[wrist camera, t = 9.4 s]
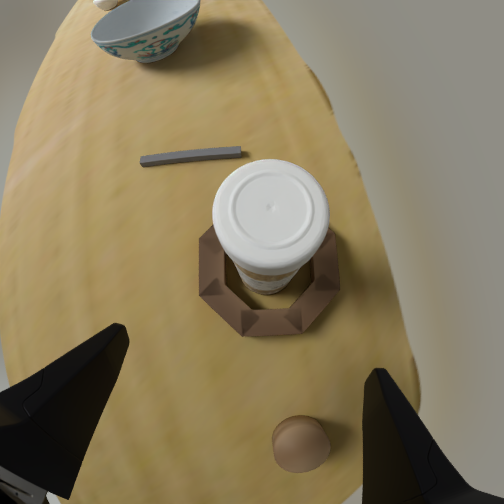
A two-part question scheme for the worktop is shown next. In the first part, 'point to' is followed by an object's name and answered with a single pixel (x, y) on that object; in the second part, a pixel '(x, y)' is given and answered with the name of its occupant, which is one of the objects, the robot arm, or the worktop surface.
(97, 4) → the white owl figurine
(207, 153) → the grey rectangular bar
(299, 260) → the sprinkles bottle
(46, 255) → the worktop surface
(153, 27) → the chinaware
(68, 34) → the worktop surface
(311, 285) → the walnut ring
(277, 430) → the small wooden bead
